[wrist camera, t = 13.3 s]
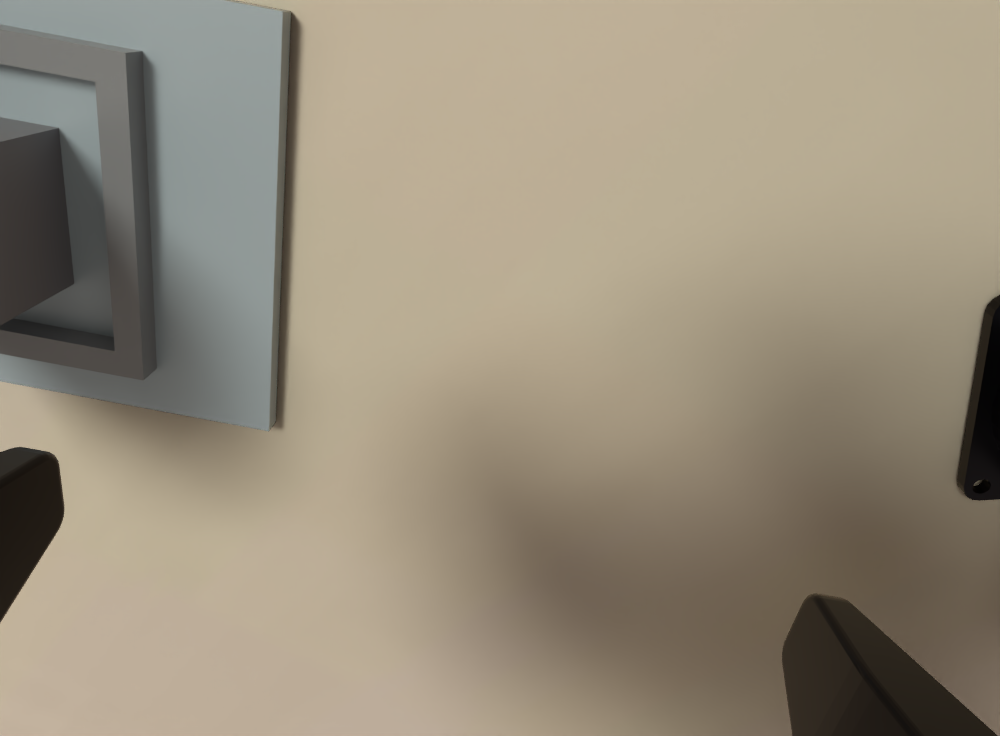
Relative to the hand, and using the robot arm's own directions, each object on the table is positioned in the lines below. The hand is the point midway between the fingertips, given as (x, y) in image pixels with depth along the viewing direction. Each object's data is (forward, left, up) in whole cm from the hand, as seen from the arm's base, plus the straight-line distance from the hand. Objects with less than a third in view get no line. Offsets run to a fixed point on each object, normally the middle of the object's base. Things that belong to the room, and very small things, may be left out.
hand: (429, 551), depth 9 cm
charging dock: (+3, +14, -13) cm, 19 cm away
